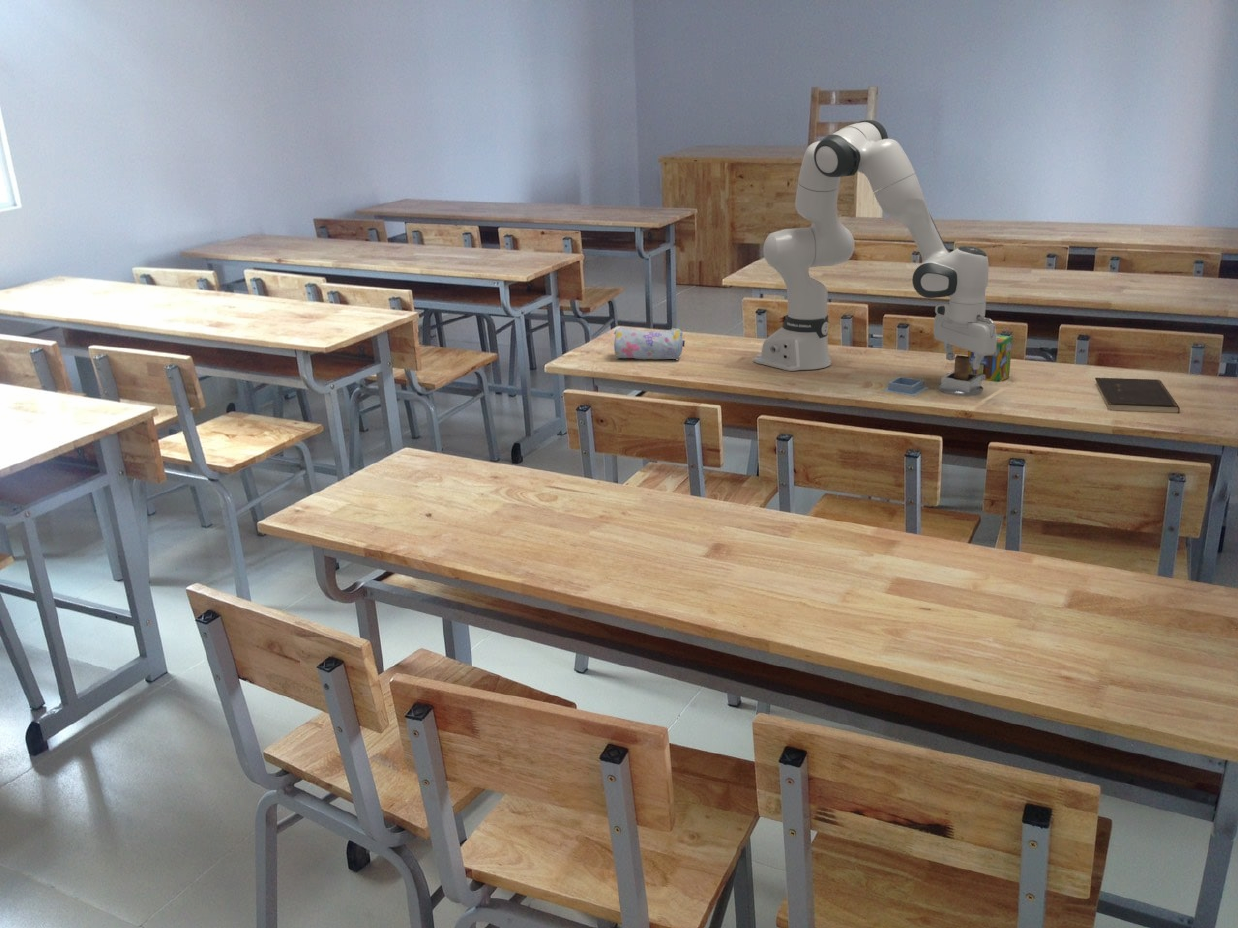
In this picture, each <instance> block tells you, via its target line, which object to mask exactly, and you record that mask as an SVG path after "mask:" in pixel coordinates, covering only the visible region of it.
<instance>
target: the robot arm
mask: <svg viewBox="0 0 1238 928" xmlns="http://www.w3.org/2000/svg"><path fill="white" fill-rule="evenodd" d="M888 135H889V134H888V133H887V130H886V128H885V127H884V126H883V124H881V123H880V122H879V121H876V120H872V119H865V120H860V121H858V122H857V123H852V124H849V125H847V126H844V127H842V128H840V129H838V131H836V132H834V133H832V134H829V135H827V136H825V137H824V138H822V139H821V140H818V141H814V142H813V143H810V144H809V145H808V147H807V148H806V150H805V152H804V156H803V158H802V162H801V165H800V170H799V174H798V180H797V188H796V195H795V200H794V201H795V203H794V205H795V210H796V212H797V214H798V215H799V216H801V217H802V218H803V219H805V220H807V221H809V222H811V225H810V226H808V227H797V228H796V227H795V228H794V227H793V228H784V229H780V230H777V231H774V232H770V233H769V234H768V236H767V237H766V238H765V240H764V244H763V247H762V248H763V249H762V250H763V257H764V259H765V261H766V263H767V264H768V265H769V266H770V267H771V268H772V269H774V270H776V272H777V273H778V274H779V275H780V277H781V278H782V280H783V282H784V284H785V288H786V294H787V314H785V315H784V316H783V317H781V318H779V322H778V323H782V325H781V327H780V328H779V329H777V330H776V331H775V332H773V333H772V334H771V335H769V336H768V337H767V338H765V340H764V341H763V343H762V346H761V347H762V348H761V353H758V354H756V355H755V356H753V357H754V358H753V362H754V363H757V364H761V365H765V366H768V367H772V368H776V369H780V370H784V371H789V372H795V371H804V370H805V371H809V370H818V369H823V368H827V367H829V366H831V365H832V361H831V358H830V352H829V345H828V344H829V343H828V334H829V315H828V295H829V294H828V293H829V291H828V289H827V287H826V285H825V284H824V283H822V282H821V281H820V280H817V279H815V278H814V277H811V276H810V273H809V269H810V268H815V267H816V268H817V267H830V266H831V267H832V266H835V265H836V266H837V265H839V264H843V263H846V262H848V261H849V260H850V259H851V258H852V257H853V254H854V251H855V244H856V243H855V239H854V236H853V234H852V232H851V231H850V230H849V229H848V228H847V227H845V226H844V225H843V223H842V222H841V221H840V218H839V217H838V216H839V215H838V209H837V208H838V198H839V191H840V185H841V184H840V183H841V178H842V177H852V176H853V177H854V176H856V174H857V172H859V173H861V174H863V175H864V176H866V178H867V180H868V182H869V184H870V187H871V190H872V192H873V195H874V197H875V199H876V202H877V204H878V205H879V206H880V208H881V210H882V212H883V213H884V214H885V215H886V217H889V218H891V219H893V220H896V221H898V222H900V223H902V224H903V225H904V226H905V227H906V228H907V229H908V231H909V233H910V235H911V236H912V238H913V241H914V243H915V245H916V247H917V250H918V252H919V254H920V256H921V261H922V262H921V263H920V264H919V265H918V266H917V268H916V269H914V272H913V274H912V286H913V289H914V290H915V292H916V293H917V294H918V295H920V296H921V297H923V298H927V299H935V298H936V299H937V298H945V297H949V301H948V303H944V304H942V303H941V304H939V305H938V304H937V305H936V306H935V308H934V312H935V314H936V315H935V317H934V322H933V336H934V339H935V340H937V341H940V342H942V343H943V348H944V351H945V359H946V360H947V361H951V362H952V361H955V357H956V353H955V352H954V350H953V349H954V348H953V346H954V347H957V348H960V349H963V350H965V351H967V352H968V351H971V352H974V357H975V359H974V361H973V362H971V366H970V368H972V369H975V370H976V369H979V368H980V362H981V361H982V359H983V358H984V356H988V355H993V354H994V353H995V352H996V347H997V336H996V334H997V330H996V329H997V328H996V323H994V321H993V319H991V318H990V317H985V316H986V307H987V306H986V304H987V296H986V289H987V287H988V283H989V271H990V270H989V269H990V268H989V267H990V266H989V259H988V255H987V253H986V252H985V251H984V250H982V249H981V248H977V247H974V246H967V245H966V246H964V245H963V246H958V247H957V248H956V249H954V250H952V251H951V250H950V249H949V248H948V246H946V244H945V243H944V240H943V239H942V237H941V234H940V232H939V231H938V228H937V226H936V223H935V221H934V220H933V217H932V215H931V214H930V211H929V209H928V205H927V203H926V202H927V201H926V199H925V196H924V193H923V190H922V187H921V185H920V182H919V178H918V177H917V174H916V171H915V169H914V166H913V165H912V163H911V161H910V159H909V157H908V155H907V153H906V152H905V151H904V148H903V147H902V145H901V144H900V143H899V142H898V141H897V140H895V139H894V138H893V139H892V138H889V136H888Z"/></svg>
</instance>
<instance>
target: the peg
mask: <svg viewBox="0 0 1238 928" xmlns="http://www.w3.org/2000/svg"><path fill="white" fill-rule="evenodd" d="M969 362H970V357H969V356H968V355H955V359H954V369H953V371H954V379H960V380H966V381H968V375H969Z"/></svg>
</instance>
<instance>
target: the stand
mask: <svg viewBox="0 0 1238 928" xmlns="http://www.w3.org/2000/svg"><path fill="white" fill-rule="evenodd" d="M887 383H888V385H887V387H886V388H884V389H882V391H883V392H889V393H894V394H900V395H907V396H912V397H915V396H917V395H919V394H921V393H922V392H924V391H926V390H927V389H929V388H930V387H929V386H925V380H924V379H918V378H912V377H906V376H898V377H897V378H895V379H892V380H890V381H889V382H887Z"/></svg>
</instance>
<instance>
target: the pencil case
mask: <svg viewBox="0 0 1238 928" xmlns="http://www.w3.org/2000/svg"><path fill="white" fill-rule="evenodd" d="M613 334H614V343H613V349H614V354H615V356H616V359H617V358H635V359H634V360H646V359H679V356H680V355H681V356H682V354H683V347H685V341H686V340H684V339H683V337H682V336H683V331H681V329H680V328H675V327H671V329H669V330H657V331H646V330H638V329H632V328H626V327H619V328H618V329H617V328H616V329H615V331H614V332H613ZM679 360H680V359H679Z"/></svg>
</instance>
